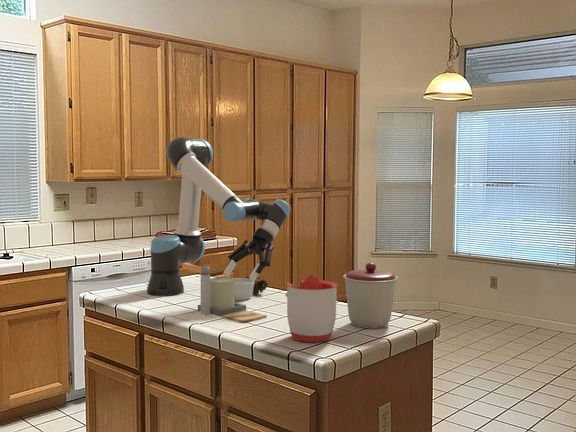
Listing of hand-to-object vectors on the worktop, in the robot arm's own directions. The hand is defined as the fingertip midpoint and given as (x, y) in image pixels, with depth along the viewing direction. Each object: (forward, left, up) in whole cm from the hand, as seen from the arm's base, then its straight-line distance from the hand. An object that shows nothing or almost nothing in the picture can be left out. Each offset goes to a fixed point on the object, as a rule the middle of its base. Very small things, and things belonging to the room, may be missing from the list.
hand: (238, 277), depth 229 cm
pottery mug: (-14, +24, -12) cm, 30 cm away
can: (-1, -7, -12) cm, 14 cm away
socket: (-1, -8, -11) cm, 14 cm away
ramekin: (-13, +13, -12) cm, 22 cm away
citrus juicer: (+45, -13, -12) cm, 48 cm away
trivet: (+12, -9, -11) cm, 19 cm away
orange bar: (-8, -14, +3) cm, 16 cm away
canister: (+50, +13, -12) cm, 53 cm away
